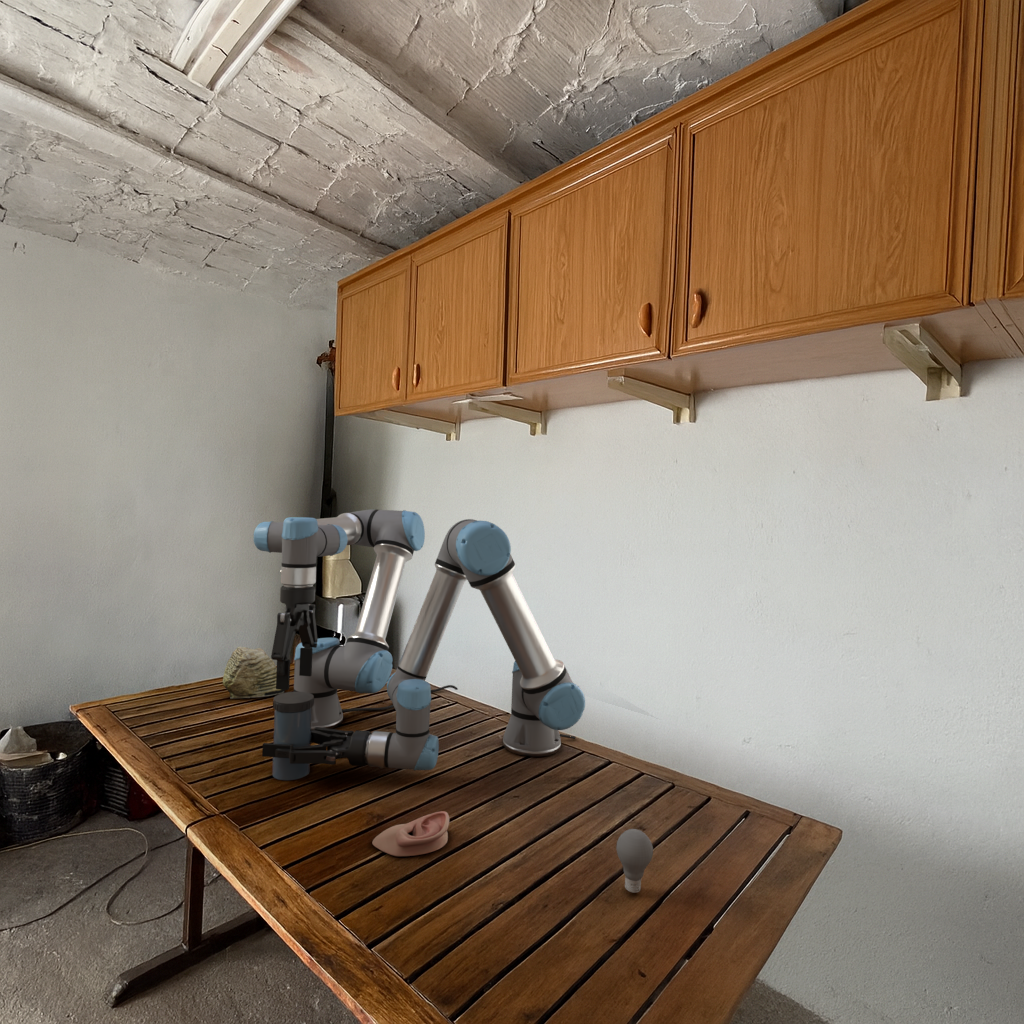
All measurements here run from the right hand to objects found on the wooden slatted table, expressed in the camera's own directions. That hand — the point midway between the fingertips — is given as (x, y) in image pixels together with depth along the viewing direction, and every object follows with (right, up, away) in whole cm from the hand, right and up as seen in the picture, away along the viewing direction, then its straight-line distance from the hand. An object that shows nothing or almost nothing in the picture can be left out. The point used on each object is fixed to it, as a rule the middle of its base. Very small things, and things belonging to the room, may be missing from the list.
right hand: (271, 742), depth 145 cm
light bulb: (+75, -11, -39) cm, 85 cm away
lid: (+5, +10, 0) cm, 11 cm away
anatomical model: (+36, -9, -27) cm, 46 cm away
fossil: (-26, -5, +53) cm, 59 cm away
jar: (+4, -7, 0) cm, 8 cm away
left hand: (+5, +14, -1) cm, 15 cm away
